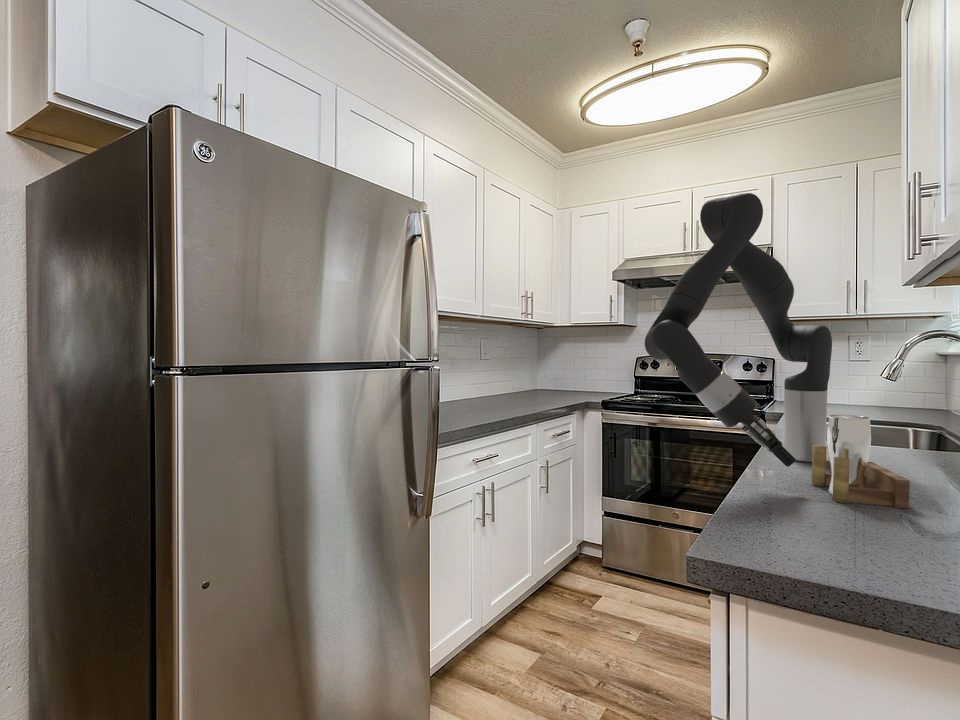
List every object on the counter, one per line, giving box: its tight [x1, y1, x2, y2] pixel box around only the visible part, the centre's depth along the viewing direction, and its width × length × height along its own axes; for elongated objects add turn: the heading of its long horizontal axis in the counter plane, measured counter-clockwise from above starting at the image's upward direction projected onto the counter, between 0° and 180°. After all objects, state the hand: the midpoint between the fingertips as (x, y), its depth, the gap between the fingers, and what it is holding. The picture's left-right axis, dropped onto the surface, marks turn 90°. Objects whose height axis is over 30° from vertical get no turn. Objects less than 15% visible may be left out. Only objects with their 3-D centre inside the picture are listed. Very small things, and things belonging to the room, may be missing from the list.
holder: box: [811, 445, 911, 510], centre depth 104 cm, size 15×11×8 cm
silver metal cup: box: [826, 413, 872, 495], centre depth 104 cm, size 7×7×15 cm
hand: (791, 463), depth 107 cm, fingers closed
